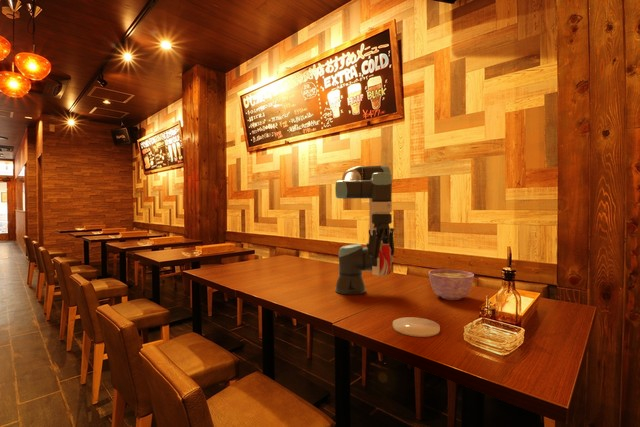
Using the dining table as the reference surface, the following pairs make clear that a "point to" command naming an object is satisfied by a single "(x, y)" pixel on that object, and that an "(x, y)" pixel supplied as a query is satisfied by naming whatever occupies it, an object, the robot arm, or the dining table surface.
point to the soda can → (384, 260)
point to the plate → (416, 327)
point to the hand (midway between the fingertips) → (381, 273)
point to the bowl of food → (451, 283)
